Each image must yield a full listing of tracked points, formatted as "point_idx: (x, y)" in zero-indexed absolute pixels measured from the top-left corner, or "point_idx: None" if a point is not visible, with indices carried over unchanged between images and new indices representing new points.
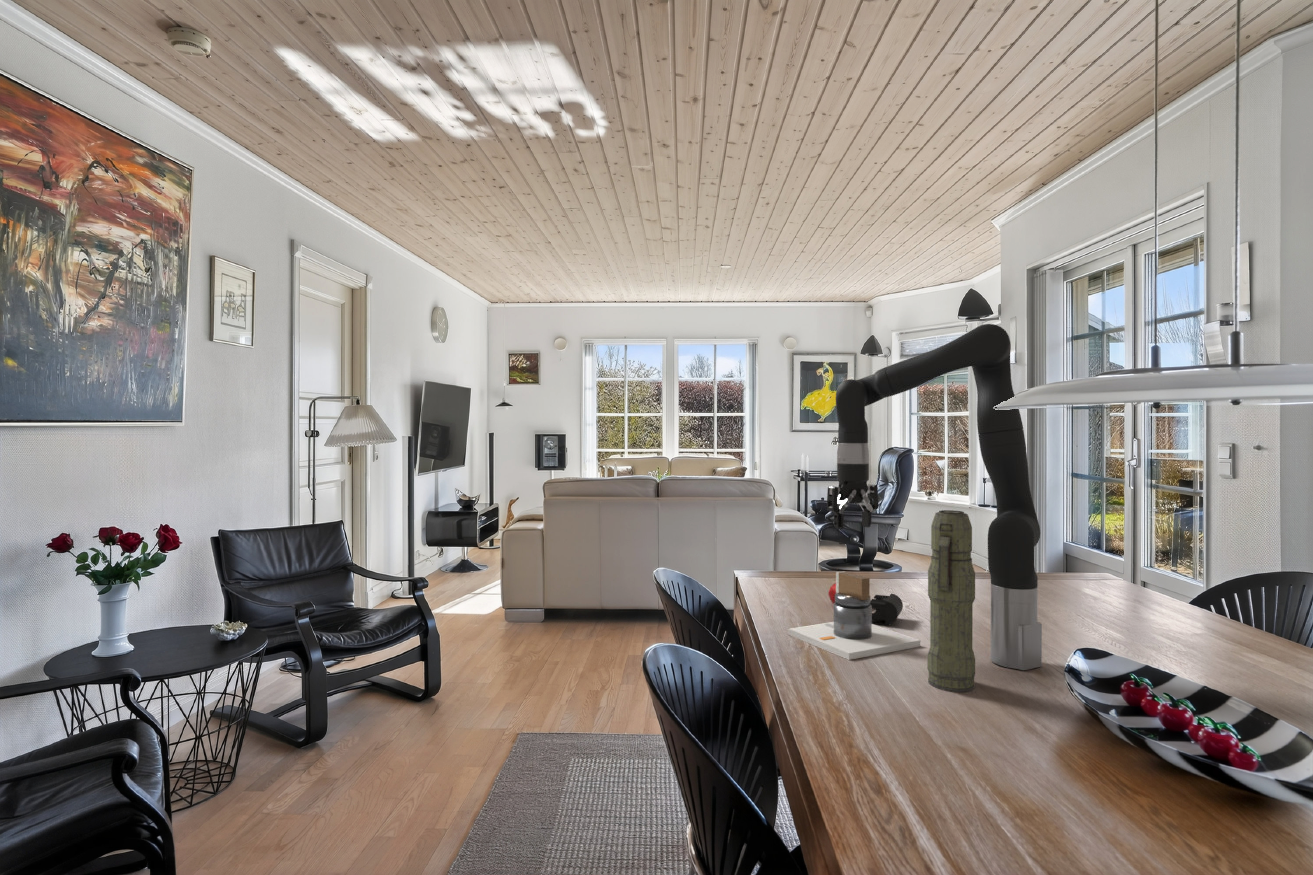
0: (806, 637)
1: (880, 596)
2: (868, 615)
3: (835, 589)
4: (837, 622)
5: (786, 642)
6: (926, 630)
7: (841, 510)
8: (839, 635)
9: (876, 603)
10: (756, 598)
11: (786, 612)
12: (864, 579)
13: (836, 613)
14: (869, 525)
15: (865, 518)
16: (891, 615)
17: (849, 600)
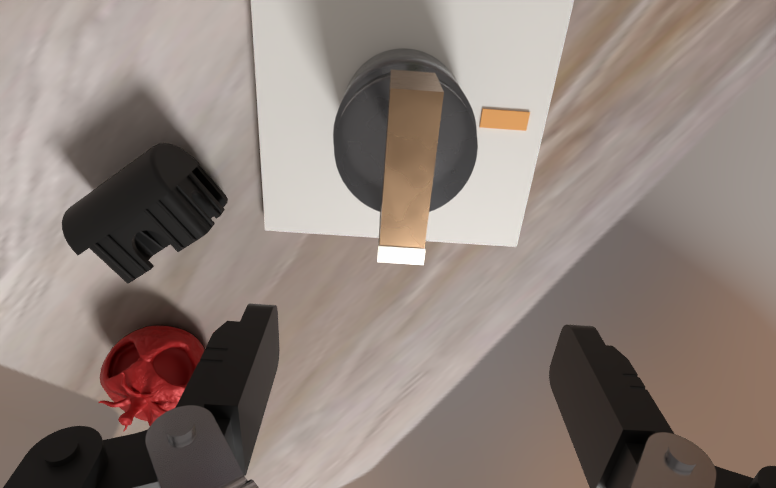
0: (533, 168)
1: (130, 257)
2: (394, 60)
3: None
4: None
5: (575, 190)
6: (101, 59)
7: (689, 465)
8: None
9: (192, 215)
10: (340, 477)
11: (362, 375)
12: (425, 89)
13: None
14: (256, 308)
15: (260, 382)
16: (175, 157)
17: (466, 110)
